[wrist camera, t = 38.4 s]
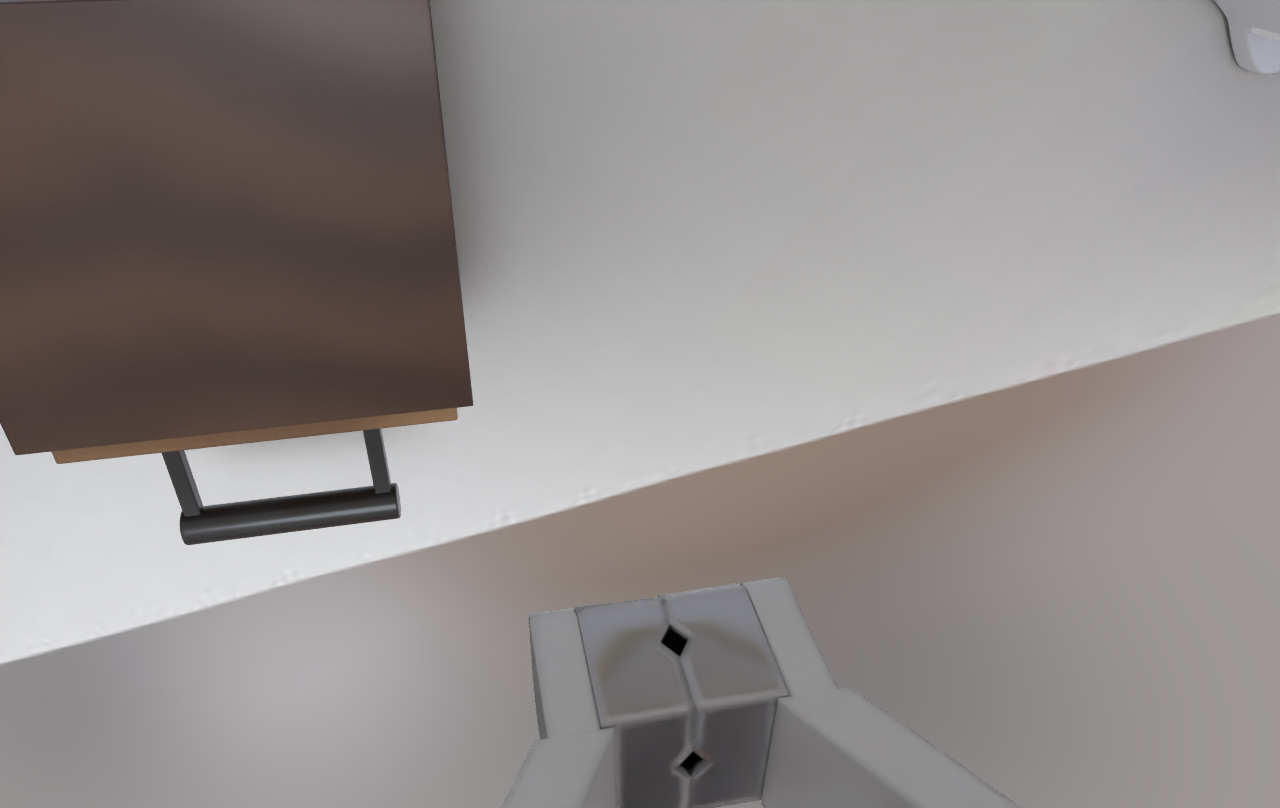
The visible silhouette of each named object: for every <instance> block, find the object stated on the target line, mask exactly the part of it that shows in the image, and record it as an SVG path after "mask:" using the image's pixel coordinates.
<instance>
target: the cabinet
mask: <svg viewBox="0 0 1280 808" xmlns="http://www.w3.org/2000/svg"><path fill="white" fill-rule="evenodd" d="M466 406H473V398H472V388H471V379H470V370H469V361H468V351H467V342H466V333H465V324H464V314H463V305H462V296H461V287H460V277H459V268H458V259H457V250H456V240H455V231H454V222H453V213H452V203H451V194H450V185H449V176H448V166H447V157H446V148H445V139H444V129H443V120H442V111H441V102H440V92H439V83H438V74H437V65H436V56H435V46H434V37H433V28H432V19H431V9H430V0H0V424H1V426H2V428H3V430H4V432H5V434H6V436H7V438H8V440H9V442H10V444H11V447H12V449H13V451H14V453H15V455H22V454H31V453H41V452H50V451H59V450H68V449H78V448H87V447H96V446H105V445H115V444H124V443H133V442H142V441H152V440H161V439H170V438H179V437H189V436H198V435H207V434H216V433H226V432H235V431H244V430H253V429H263V428H272V427H281V426H290V425H300V424H309V423H318V422H327V421H337V420H346V419H355V418H364V417H374V416H383V415H392V414H401V413H411V412H420V411H429V410H438V409H447V408H457V407H466Z"/></svg>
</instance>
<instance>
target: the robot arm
mask: <svg viewBox="0 0 1280 808" xmlns="http://www.w3.org/2000/svg"><path fill="white" fill-rule="evenodd" d="M1214 1H1215V3H1216V4H1217V5H1218V6H1219V7H1220V8H1221V10H1222V11H1223V12H1224V14H1225V16H1226V18H1227V20H1228V26H1229V33H1230V38H1231V44H1232V48H1233V52H1234V56H1235V58H1236V61H1237V63H1238V65H1239V66H1240V67H1241V68H1242V69H1244V70H1247V71H1251V72H1255V73H1259V74H1264V75H1268V74H1274V73H1278V72H1280V0H1214ZM529 627H530V641H531V655H532V669H533V681H534V692H535V702H536V713H537V722H538V729H539V736H540V740H538V741H534V743H533V745H532V747H531V749H530V751H529V753H528V755H527V757H526V759H525V761H524V763H523V765H522V767H521V769H520V771H519V773H518V775H517V777H516V779H515V781H514V783H513V784H512V786H511V788H510V790H509V792H508V794H507V796H506V798H505V800H504V802H503V804H502V806H501V808H715V807H721V806H727V805H733V804H739V803H746V802H752V801H758V800H761V804H762V805H763V806H764V808H1022V807H1020V806H1019V805H1017V804H1016V803H1015V802H1013V801H1012V800H1010V799H1009V798H1007V797H1006V796H1005V795H1003V794H1002V793H1000V792H999V791H998V790H996V789H995V788H993V787H992V786H991V785H989V784H988V783H986V782H985V781H983V780H982V779H981V778H979V777H977V776H976V775H975V774H974V773H972V772H971V771H969V770H968V769H967V768H965V767H964V766H962V765H961V764H959V763H958V762H956V761H955V760H954V759H952V758H951V757H950V756H948V755H947V754H945V753H944V752H942V751H941V750H940V749H938V748H937V747H935V746H934V745H933V744H931V743H930V742H928V741H927V740H925V739H924V738H923V737H921V736H920V735H918V734H917V733H916V732H914V731H913V730H911V729H910V728H908V727H907V726H905V725H904V724H903V723H901V722H900V721H898V720H897V719H895V718H894V717H893V716H891V715H890V714H889V713H887V712H886V711H884V710H883V709H882V708H880V707H879V706H877V705H876V704H875V703H873V702H872V701H870V700H869V699H867V698H866V697H865V696H863V695H862V694H860V693H859V692H858V691H856V690H855V689H853V688H852V687H844V688H838V687H837V685H836V682H835V680H834V678H833V676H832V674H831V672H830V670H829V668H828V665H827V663H826V661H825V659H824V657H823V655H822V653H821V651H820V648H819V646H818V644H817V642H816V640H815V638H814V636H813V634H812V632H811V629H810V627H809V625H808V623H807V621H806V619H805V617H804V614H803V613H802V610H801V608H800V606H799V604H798V602H797V599H796V597H795V595H794V593H793V591H792V589H791V587H790V585H789V583H788V582H787V581H786V580H785V579H784V578H782V577H780V578H773V579H766V580H760V581H753V582H746V583H742V584H740V585H739V584H737V583H736V584H730V585H724V586H718V587H711V588H705V589H699V590H693V591H687V592H681V593H674V594H668V595H662V596H658V597H657V598H649V599H641V600H633V601H624V602H616V603H609V604H601V605H592V606H585V607H576V608H575V609H574V610H573V609H564V610H557V611H549V612H541V613H533V614H530V616H529Z"/></svg>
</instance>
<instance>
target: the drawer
mask: <svg viewBox="0 0 1280 808" xmlns="http://www.w3.org/2000/svg"><path fill="white" fill-rule="evenodd" d="M457 418H458V416H457V408H447V409H438V410H429V411H420V412H411V413H401V414H392V415H383V416H374V417H364V418H355V419H346V420H337V421H327V422H318V423H309V424H300V425H290V426H281V427H272V428H263V429H253V430H244V431H235V432H226V433H216V434H207V435H198V436H189V437H179V438H170V439H161V440H152V441H142V442H133V443H124V444H115V445H105V446H96V447H87V448H78V449H68V450H59V451H51V452H52V454H53V456H54V458H55V461H56V463H57V464H62V463H71V462H80V461H89V460H98V459H107V458H116V457H125V456H134V455H143V454H152V453H162V455H163V458H164V461H165V464H166V466H167V469H168V472H169V475H170V478H171V480H172V483H173V486H174V489H175V491H176V494H177V497H178V500H179V502H180V505H181V508H182V512H181V516H180V532H181V536H182V539H183V541H184V543H185V544H187V545H192V544H200V543H208V542H216V541H224V540H232V539H240V538H247V537H255V536H263V535H271V534H279V533H287V532H294V531H302V530H310V529H318V528H326V527H334V526H341V525H349V524H357V523H365V522H373V521H381V520H389V519H396V518H400V516H401V506H400V496H399V490H398V486H397V484H396V483H392V484H391V480H390V475H389V469H388V464H387V458H386V453H385V447H384V442H383V436H382V431H381V428H388V427H397V426H406V425H415V424H424V423H433V422H442V421H451V420H457ZM361 430H363V433H364V438H365V444H366V449H367V454H368V459H369V464H370V469H371V474H372V479H373V484H374V486H368V487H359V488H351V489H343V490H335V491H326V492H318V493H310V494H301V495H293V496H285V497H277V498H268V499H260V500H252V501H244V502H235V503H227V504H219V505H211V506H203V504H202V501H201V498H200V495H199V492H198V489H197V487H196V484H195V481H194V478H193V475H192V472H191V469H190V466H189V463H188V460H187V457H186V454H185V452H184V450H189V449H198V448H207V447H216V446H225V445H234V444H243V443H252V442H261V441H270V440H279V439H288V438H297V437H306V436H315V435H324V434H333V433H343V432H352V431H361Z"/></svg>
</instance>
